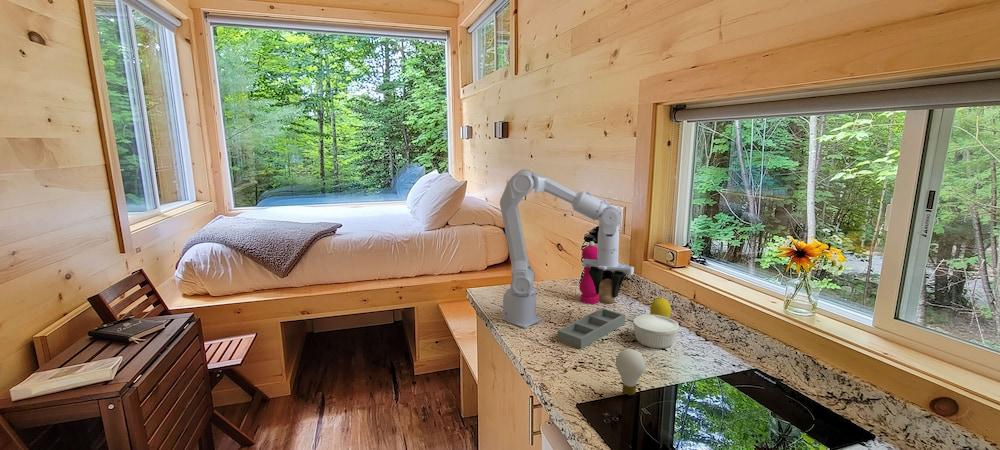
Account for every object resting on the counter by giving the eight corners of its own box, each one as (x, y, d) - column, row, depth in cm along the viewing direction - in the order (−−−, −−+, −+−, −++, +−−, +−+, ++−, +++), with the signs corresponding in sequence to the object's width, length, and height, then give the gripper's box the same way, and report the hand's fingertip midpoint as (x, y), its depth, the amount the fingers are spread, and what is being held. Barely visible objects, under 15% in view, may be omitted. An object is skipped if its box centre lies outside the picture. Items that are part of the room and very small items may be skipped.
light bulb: (610, 387, 97) (612, 344, 95) (637, 386, 98) (639, 343, 96) (620, 403, 91) (621, 358, 89) (648, 401, 92) (650, 356, 90)
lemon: (671, 328, 126) (673, 301, 124) (650, 327, 127) (652, 300, 125) (668, 320, 131) (670, 294, 129) (648, 319, 132) (649, 293, 131)
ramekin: (684, 340, 119) (685, 321, 118) (666, 355, 111) (667, 335, 110) (644, 328, 126) (644, 310, 125) (624, 342, 118) (625, 323, 117)
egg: (596, 301, 128) (596, 279, 126) (602, 297, 131) (603, 275, 130) (610, 305, 125) (611, 282, 124) (617, 300, 128) (617, 278, 127)
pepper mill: (604, 299, 149) (606, 240, 145) (597, 306, 143) (598, 244, 139) (584, 295, 153) (585, 237, 149) (575, 302, 147) (576, 242, 143)
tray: (557, 340, 120) (557, 330, 119) (602, 316, 135) (602, 307, 134) (580, 349, 115) (581, 339, 114) (624, 323, 129) (625, 314, 129)
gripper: (577, 247, 126) (577, 293, 129) (627, 255, 117) (625, 304, 120) (589, 242, 132) (588, 286, 134) (637, 249, 123) (635, 296, 125)
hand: (606, 294), depth 128 cm, fingers closed on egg, 4 cm apart
